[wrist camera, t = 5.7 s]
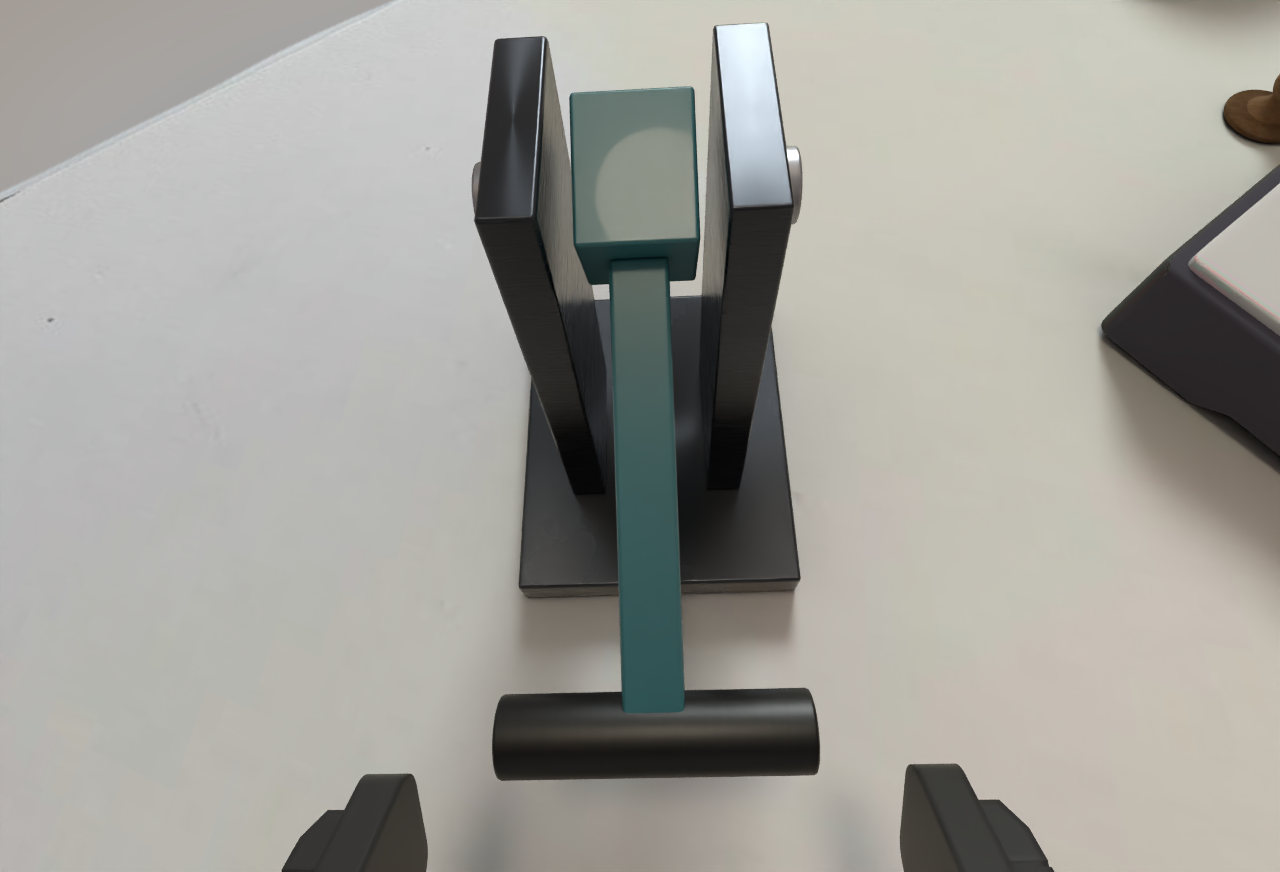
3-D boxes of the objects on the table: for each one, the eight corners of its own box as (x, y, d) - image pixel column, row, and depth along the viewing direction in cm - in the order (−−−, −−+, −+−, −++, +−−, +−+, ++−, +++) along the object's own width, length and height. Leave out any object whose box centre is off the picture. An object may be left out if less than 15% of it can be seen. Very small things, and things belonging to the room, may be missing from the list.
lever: (801, 747, 14) (829, 801, 12) (515, 753, 14) (485, 807, 12) (772, 144, 15) (792, 78, 12) (504, 158, 15) (472, 96, 13)
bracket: (795, 591, 21) (930, 357, 10) (525, 598, 21) (347, 381, 10) (764, 312, 26) (832, -75, 14) (541, 321, 26) (430, -51, 14)
